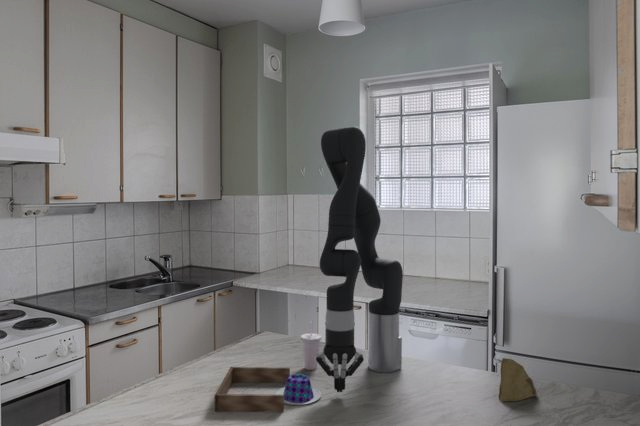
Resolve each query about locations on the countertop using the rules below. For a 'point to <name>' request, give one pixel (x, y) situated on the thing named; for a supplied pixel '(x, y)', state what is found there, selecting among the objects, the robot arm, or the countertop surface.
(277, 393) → the pudding
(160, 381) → the countertop surface
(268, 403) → the box
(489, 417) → the countertop surface
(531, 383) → the rock
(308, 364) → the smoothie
